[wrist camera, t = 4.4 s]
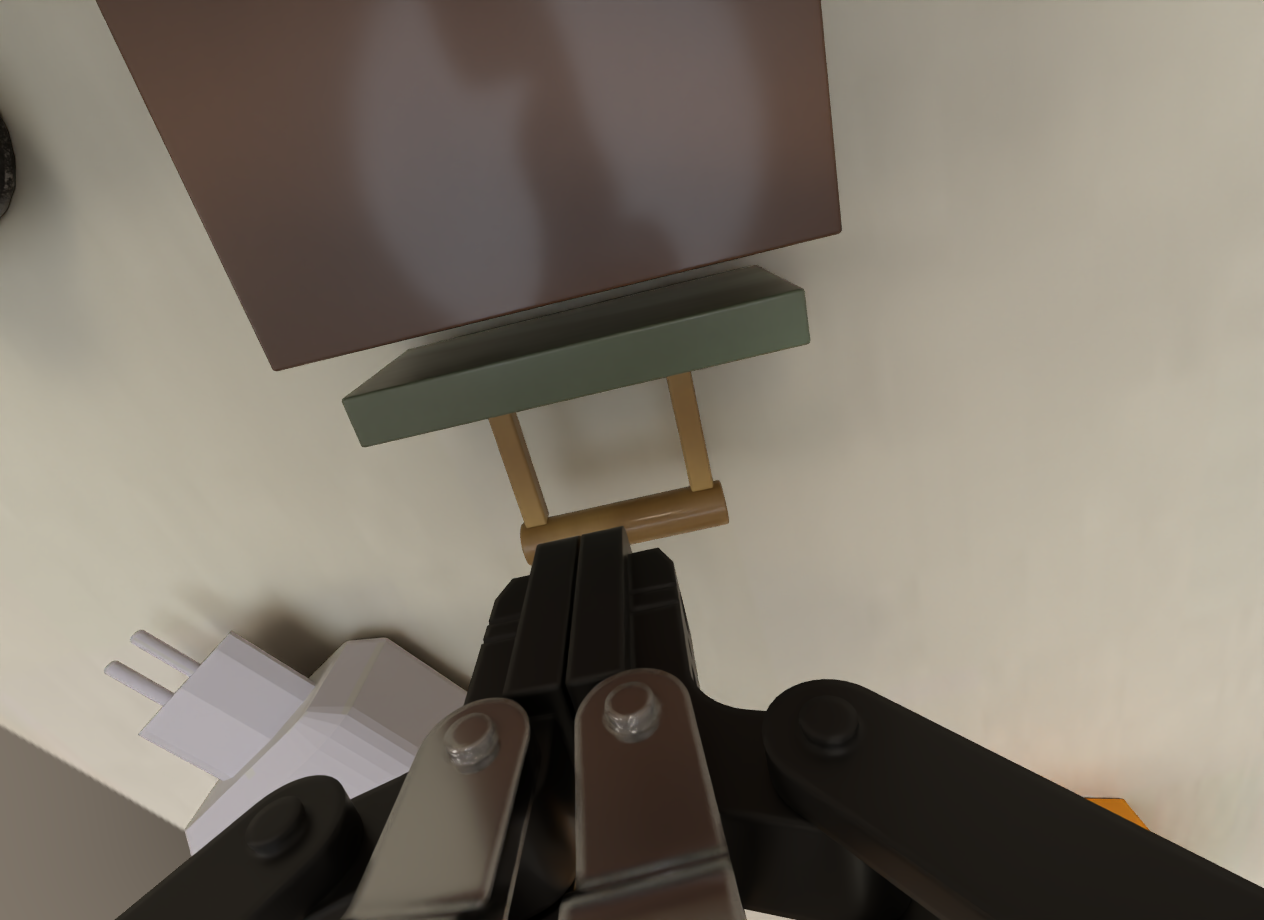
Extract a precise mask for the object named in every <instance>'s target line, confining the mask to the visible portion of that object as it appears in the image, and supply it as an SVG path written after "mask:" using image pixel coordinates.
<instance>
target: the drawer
mask: <svg viewBox="0 0 1264 920" xmlns="http://www.w3.org/2000/svg"><path fill="white" fill-rule="evenodd" d="M809 343H810V333H809V324H808V316H807V308H806V299H805V291H804V289H802V288H801V287H799V286H797V285H795V284H793V283H791V282H789V281H787V280H785V279H783V278H781V277H779V276H777V275H775V274H773V273H771V272H770V271H768V270H766V269H764V268H762V267H760V266H758V265H753V266H749V267H745V268H740V269H736V270H732V271H728V272H724V273H720V274H716V275H712V276H708V277H704V278H699V279H695V280H691V281H687V282H683V283H679V284H675V285H671V286H667V287H663V288H658V289H654V290H650V291H646V292H642V293H638V294H634V295H630V296H626V297H622V298H617V299H613V300H609V301H605V302H601V303H597V304H593V305H589V306H585V307H580V308H576V309H572V310H568V311H564V312H560V313H556V314H552V315H548V316H544V317H539V318H535V319H531V320H527V321H523V322H519V323H515V324H511V325H507V326H503V327H498V328H494V329H490V330H486V331H482V332H478V333H474V334H470V335H466V336H462V337H457V338H453V339H449V340H445V341H441V342H437V343H433V344H429V345H425V346H420V347H416V348H412V349H408V350H407V351H406V352H404V353H403V354H402V355H400V356H399V357H398V358H396V359H395V360H394V361H392V362H391V363H390V364H388V365H387V366H386V367H384V368H383V369H382V370H380V371H379V372H378V373H376V374H375V375H374V376H372V377H371V378H370V379H368V380H367V381H366V382H364V383H363V384H362V385H360V386H359V387H358V388H356V389H355V390H354V391H352V392H351V393H350V394H348V395H347V396H346V397H344V398H343V399H342V403H343V405H344V408H345V410H346V412H347V414H348V417H349V419H350V421H351V423H352V426H353V428H354V430H355V433H356V435H357V437H358V439H359V442H360V444H361V446H362V447H369V446H373V445H378V444H382V443H386V442H390V441H395V440H399V439H403V438H408V437H412V436H416V435H420V434H425V433H429V432H433V431H438V430H442V429H446V428H450V427H455V426H459V425H463V424H468V423H472V422H476V421H480V420H485V419H488V420H489V422H490V425H491V428H492V431H493V434H494V437H495V440H496V443H497V445H498V448H499V451H500V454H501V457H502V460H503V463H504V466H505V468H506V471H507V474H508V477H509V480H510V483H511V486H512V489H513V491H514V494H515V497H516V500H517V503H518V506H519V509H520V512H521V514H522V517H523V520H524V523H523V524H522V525H521V529H520V538H521V545H522V550H523V553H524V556H525V558H526V560H527V562H528V564H529V565H531V566H532V563H533V559H534V555H535V550H536V547H537V545H538V544H541V543H546V542H550V541H555V540H560V539H564V538H569V537H574V536H578V535H579V536H581V535H582V534H587V533H591V532H596V531H601V530H605V529H610V528H615V527H619V526H624V528H625V530H626V533H627V536H628V540H629V543H630V545H631V544H636V543H641V542H645V541H650V540H655V539H659V538H664V537H669V536H673V535H678V534H683V533H687V532H692V531H697V530H701V529H706V528H711V527H715V526H720V525H725V524H728V523H729V516H728V511H727V506H726V501H725V497H724V493H723V489H722V486H721V483H720V481H719V480H715V481H713V479H712V474H711V469H710V464H709V459H708V454H707V449H706V444H705V439H704V434H703V429H702V424H701V420H700V415H699V410H698V405H697V400H696V395H695V390H694V385H693V380H692V375H691V371H695V370H699V369H703V368H708V367H712V366H716V365H721V364H725V363H729V362H733V361H738V360H742V359H746V358H751V357H755V356H759V355H763V354H768V353H772V352H776V351H781V350H785V349H789V348H793V347H798V346H802V345H806V344H809ZM665 377H666V378H667V383H668V388H669V392H670V397H671V401H672V406H673V410H674V415H675V420H676V424H677V429H678V433H679V438H680V442H681V447H682V451H683V456H684V461H685V465H686V470H687V474H688V479H689V483H690V486H688V487H684V488H679V489H674V490H670V491H665V492H661V493H656V494H652V495H647V496H643V497H638V498H634V499H629V500H624V501H620V502H615V503H611V504H606V505H602V506H597V507H593V508H588V509H584V510H579V511H574V512H570V513H565V514H561V515H556V516H552V517H548V516H549V512H548V509H547V506H546V503H545V500H544V497H543V494H542V490H541V487H540V484H539V481H538V478H537V475H536V472H535V469H534V466H533V463H532V460H531V457H530V454H529V451H528V448H527V445H526V442H525V439H524V435H523V432H522V429H521V426H520V423H519V420H518V417H517V414H516V412H519V411H523V410H528V409H532V408H536V407H540V406H545V405H549V404H553V403H558V402H562V401H566V400H570V399H575V398H579V397H583V396H588V395H592V394H596V393H601V392H605V391H609V390H613V389H618V388H622V387H626V386H631V385H635V384H639V383H643V382H648V381H652V380H656V379H661V378H665Z"/></svg>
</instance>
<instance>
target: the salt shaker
mask: <svg viewBox="0 0 1264 920" xmlns="http://www.w3.org/2000/svg"><path fill="white" fill-rule="evenodd" d="M14 187H15V158H14V154H13V150H12V146H11V142H10V138H9V134H8V130H7V128H6V126H5V124H4V122H3V120H2V118H1V116H0V217H1V216H2V215H3V213H4V212H5V211H6V210H7V208H8V205H9V202H10V199H11V196H12V193H13V190H14Z"/></svg>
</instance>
